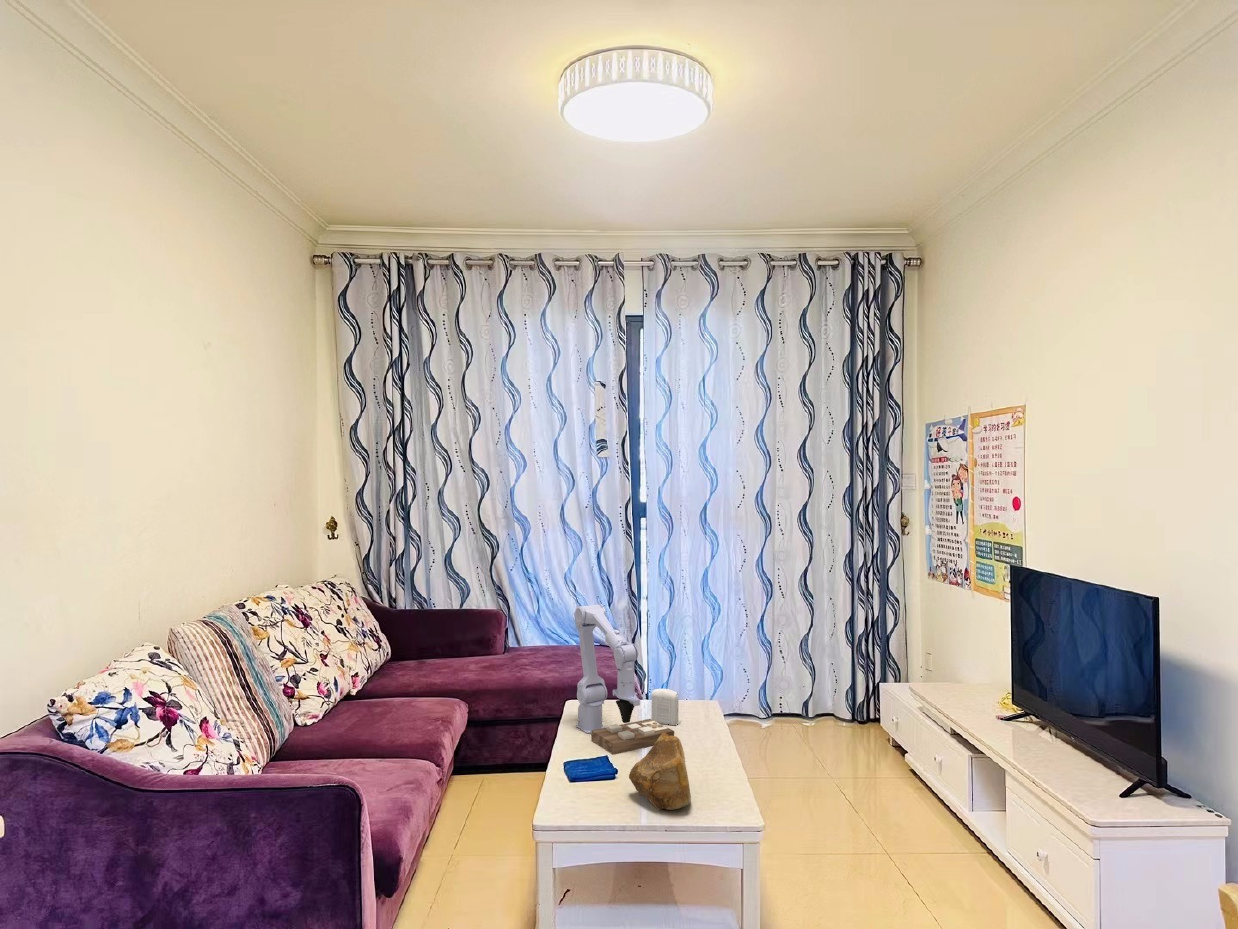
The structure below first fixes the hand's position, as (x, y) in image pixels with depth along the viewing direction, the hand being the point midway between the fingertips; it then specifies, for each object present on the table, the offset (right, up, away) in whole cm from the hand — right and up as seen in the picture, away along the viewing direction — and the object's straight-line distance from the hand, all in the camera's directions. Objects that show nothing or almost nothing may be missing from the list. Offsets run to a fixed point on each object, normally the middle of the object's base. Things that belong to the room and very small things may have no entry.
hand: (626, 722), depth 249 cm
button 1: (-4, -5, +7) cm, 9 cm away
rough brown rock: (+9, -8, -39) cm, 41 cm away
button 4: (+7, -5, +4) cm, 9 cm away
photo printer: (+14, -9, +25) cm, 30 cm away
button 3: (+3, -7, +11) cm, 13 cm away
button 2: (0, -5, 0) cm, 5 cm away
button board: (+2, -8, +6) cm, 10 cm away
